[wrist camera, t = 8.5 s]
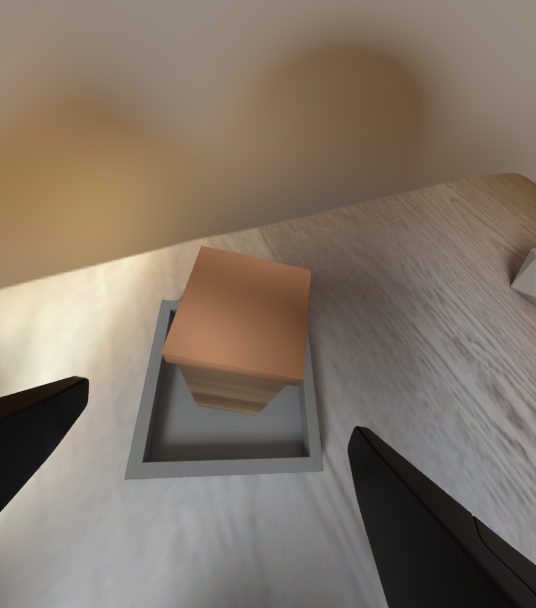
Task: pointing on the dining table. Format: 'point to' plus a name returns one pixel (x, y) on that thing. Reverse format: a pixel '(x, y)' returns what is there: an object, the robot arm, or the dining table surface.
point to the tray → (219, 426)
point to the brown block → (240, 330)
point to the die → (527, 278)
